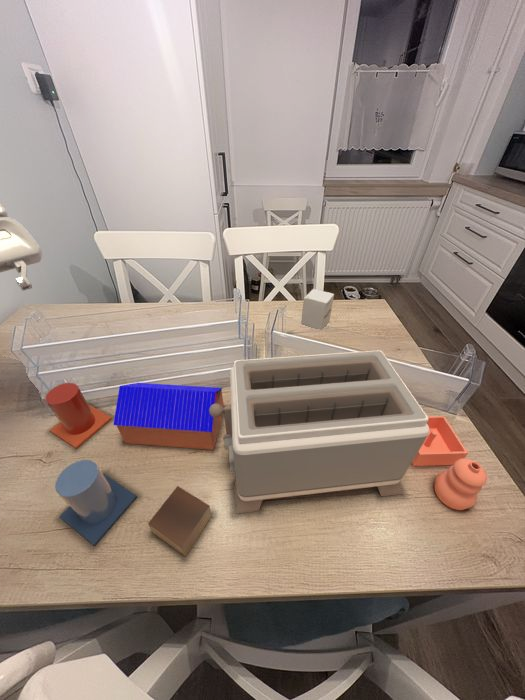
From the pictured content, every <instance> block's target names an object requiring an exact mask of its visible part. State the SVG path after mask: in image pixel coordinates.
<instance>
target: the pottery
mask: <svg viewBox="0 0 525 700" xmlns="http://www.w3.org/2000/svg"><path fill="white" fill-rule="evenodd" d="M427 417H428V418H429V420H428V422H427V424H428V426H429V435H428V436H427V438H426V440H425V441H424V443H423V445H422V446H421V448H420V450H419V451H418V453H417V455H416V456H415V458H414V460H413V461H412V463H411V465H412V466H413V467H429V466H430V467H431V466H449V467H448V469H447V470H444V471H442V472H440V473H438V475H436V478H435V481H434V492H435V494H436V496H437V497H438V499H439V500H440V502H442V503H443V504H444V506H447V507H448V508H450V509H451V510H456V511H464V510H466V509H470V508H472V507H473V506H474V505H475V504H476V502H477V499H478V493H480V492H481V491H482V488H483V486H485V485H486V484H487V481H488V475H487V472H486V470H485V469H484V468H483V467H482V465H481V464H480V462H478V461H475V460H472V459H469V458H466V457H467V456H468V454H469V452H468V450H467V449H466V448H465V446H464V444H463V442H462V441H461V439H460V438H459V436H458V435H457V433H456V432H455V430H454V429H453V427H452V426H451V424H450V423H449V421H448V419H447V418H446V416H445V415H427Z"/></svg>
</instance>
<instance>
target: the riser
mask: <svg viewBox="0 0 525 700" xmlns="http://www.w3.org/2000/svg"><path fill="white" fill-rule="evenodd" d="M212 517H213V514H212V511H211V507H210V505H209V504H207V503H205V502H204V501H202V499H200V498H197V497H196V496H195V495H193V494H191V493H190V492H188V491H186V490H185V489H183V488H182V487H180V486H179V485H177V486H176V487H175V489H174V490H173V491H172V492H171V494H169V496H168V497H167V499H166V500H165V501H164V502H163V504H162V505H161V506H160V508H159V509H158V510H157V511H156V513H155V514H154V515H153V516H152V518H151V519H150V520H149V521H148V523H147V525H148V527H149V528H150V530H151V531H152V533H153V535H155V536H156V537H157V538H159V539H161V541H163V542H165V543H166V544H167V545H168V546H170V547H171V548H172V549H174V550H176V551H177V552H178V553H180V554H181V555H182V556H184V557H187V556H188V554H189V552H190V551H191V550H192V548H193V546H194V545H195V543H196V542H197V540H198V538H199V537H200V535H201V534H202V532H203V531H204V529H205V528H206V526H207V524H208V523H209V521H210V519H211V518H212Z"/></svg>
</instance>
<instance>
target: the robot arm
mask: <svg viewBox="0 0 525 700" xmlns="http://www.w3.org/2000/svg"><path fill="white" fill-rule="evenodd" d="M42 258H43V252H42V248H41V246H40V244H39V243H38V242H37V241H36V239H35V237H33V235H32V234H31V233H30V231H28V230H27V228H26V227H24V225H22V223H20V221H18V220H17V219H15V218H14V217H9V215H8V212H7V210H6V208H5V206H3V204H2V203H0V273H3V272H7V271H12V270H16V272H17V273H18V274H20V276H19V277H17V278H15V280H16V284H17V285H18V287H19V288H20V290H21V291H24V292H25V291H28V290H31V289H33V286H32V283H31V281H30V280H29V279H28V269H27V268H28V267H27V266H30V265H34V264H38V263H40V262H41V261H42Z"/></svg>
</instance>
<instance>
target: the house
mask: <svg viewBox="0 0 525 700" xmlns="http://www.w3.org/2000/svg"><path fill="white" fill-rule="evenodd" d="M222 389H223V387H214V386H197V385H183V384H181V385H180V384H165V383H150V382H133V383H129V384H122V385H119V387H118V393H117V398H116V399H117V401H116V406H115V407H116V408H115V412H114V418H113V426H116V427H117V429H118V432H119V434H120V435H121V438H122V440H123V442H124V443H125V444H130V445H132V444H133V445H143V446H144V445H145V446H158V447H159V446H160V447H172V448H185V449H196V450H197V449H198V450H199V449H200V450H213V451H214V450H215V447H216V443H217V438H218V434H219V430H220V426H221V422H222V418H223V415H224V412H223V413H222V415H221V416H220V417H218V418H214V417H212V416H211V415H210V413H209V408H210V407H211V405H213V404H215V403H217V404H220V405H221V406H222V408H224V407H225V406H224V399H223V391H222Z"/></svg>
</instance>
